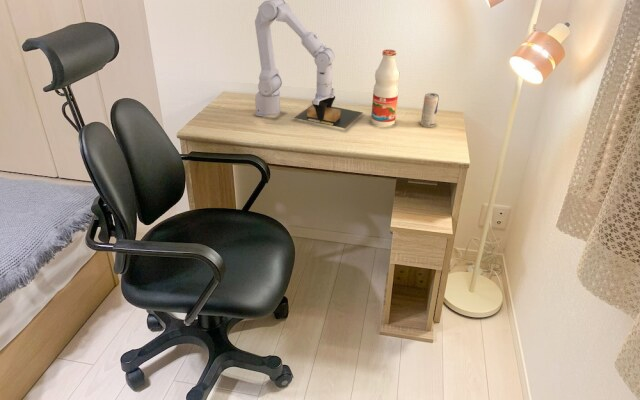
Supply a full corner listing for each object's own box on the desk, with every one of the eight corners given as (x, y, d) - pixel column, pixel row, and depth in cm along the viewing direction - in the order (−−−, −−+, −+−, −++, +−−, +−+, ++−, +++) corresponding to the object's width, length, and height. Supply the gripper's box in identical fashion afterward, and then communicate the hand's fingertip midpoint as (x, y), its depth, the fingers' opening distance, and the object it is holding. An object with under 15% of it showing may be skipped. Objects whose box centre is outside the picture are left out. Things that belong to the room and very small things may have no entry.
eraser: (307, 118, 187) (307, 108, 185) (312, 114, 191) (312, 104, 189) (334, 124, 183) (335, 114, 181) (340, 120, 187) (340, 109, 184)
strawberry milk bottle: (398, 121, 190) (405, 49, 175) (390, 129, 182) (398, 56, 167) (375, 117, 193) (381, 46, 178) (367, 125, 186) (372, 52, 171)
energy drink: (436, 123, 188) (440, 94, 182) (432, 128, 184) (437, 98, 178) (422, 121, 190) (426, 91, 184) (419, 125, 186) (423, 96, 179)
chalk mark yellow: (320, 122, 184) (320, 121, 184) (321, 121, 185) (321, 121, 185) (332, 125, 182) (332, 124, 182) (333, 124, 183) (333, 123, 183)
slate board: (294, 120, 189) (294, 117, 188) (314, 105, 202) (314, 103, 202) (345, 131, 181) (345, 128, 180) (363, 115, 194) (363, 112, 194)
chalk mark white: (307, 120, 186) (307, 119, 186) (308, 119, 187) (308, 118, 187) (319, 122, 184) (319, 121, 184) (320, 121, 185) (320, 120, 185)
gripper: (325, 89, 172) (324, 125, 179) (341, 78, 183) (340, 112, 190) (308, 86, 175) (308, 121, 182) (325, 75, 186) (324, 109, 193)
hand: (323, 116), depth 186 cm, fingers closed on eraser, 5 cm apart
